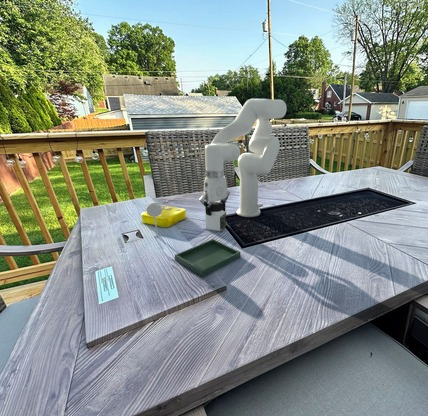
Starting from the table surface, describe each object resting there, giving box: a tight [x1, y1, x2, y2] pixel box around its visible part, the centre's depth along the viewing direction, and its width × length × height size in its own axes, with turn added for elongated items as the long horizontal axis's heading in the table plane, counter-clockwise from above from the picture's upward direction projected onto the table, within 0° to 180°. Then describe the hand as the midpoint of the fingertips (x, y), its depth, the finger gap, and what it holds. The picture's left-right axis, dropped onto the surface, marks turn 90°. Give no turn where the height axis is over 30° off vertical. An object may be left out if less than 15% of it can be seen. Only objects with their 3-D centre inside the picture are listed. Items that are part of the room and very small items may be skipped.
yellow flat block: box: [141, 204, 187, 228], centre depth 124 cm, size 15×15×5 cm
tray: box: [174, 238, 242, 278], centre depth 94 cm, size 17×15×2 cm
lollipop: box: [145, 201, 162, 238], centre depth 105 cm, size 6×6×15 cm
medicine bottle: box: [204, 200, 227, 232], centre depth 118 cm, size 7×7×12 cm
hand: (215, 212), depth 117 cm, fingers closed on medicine bottle, 7 cm apart
